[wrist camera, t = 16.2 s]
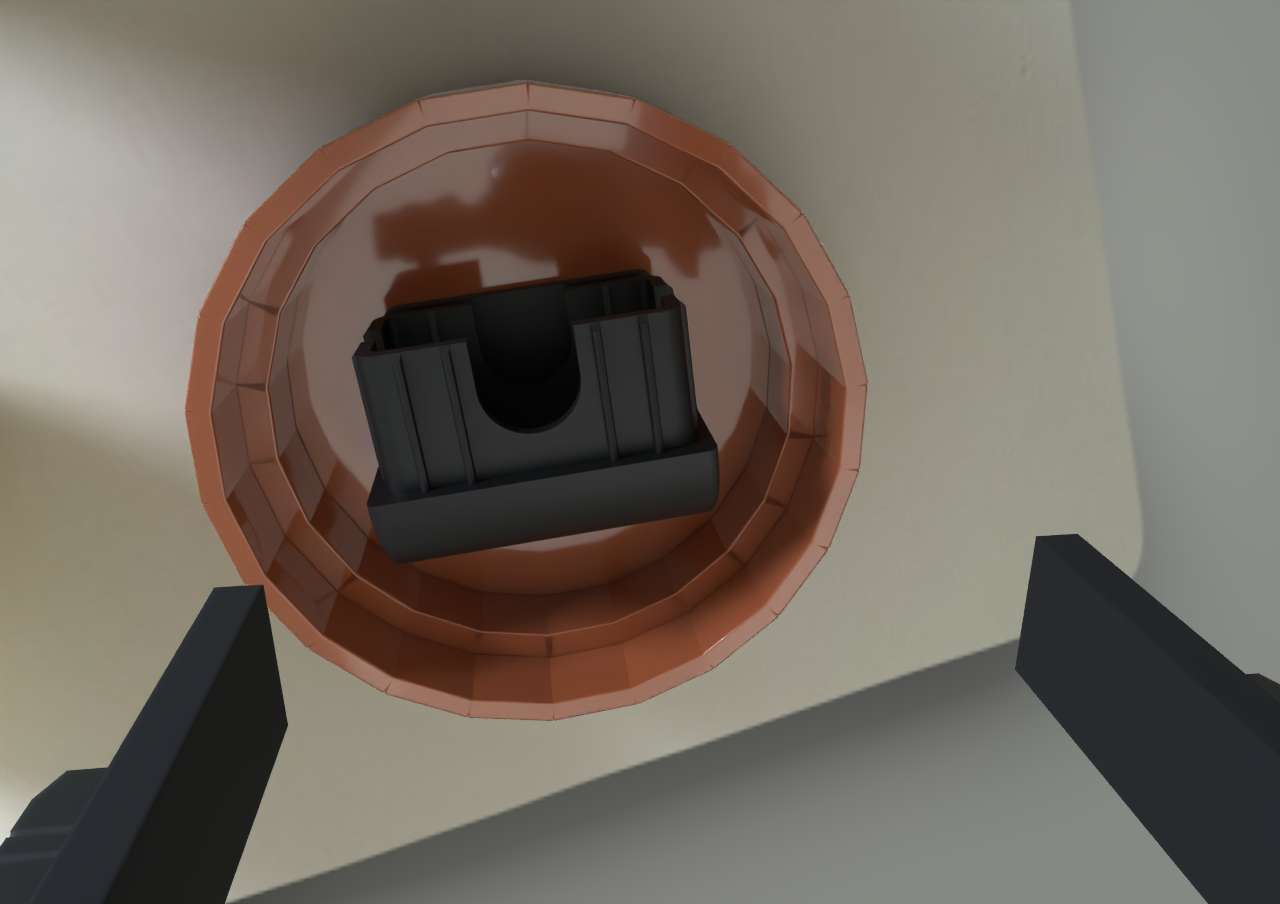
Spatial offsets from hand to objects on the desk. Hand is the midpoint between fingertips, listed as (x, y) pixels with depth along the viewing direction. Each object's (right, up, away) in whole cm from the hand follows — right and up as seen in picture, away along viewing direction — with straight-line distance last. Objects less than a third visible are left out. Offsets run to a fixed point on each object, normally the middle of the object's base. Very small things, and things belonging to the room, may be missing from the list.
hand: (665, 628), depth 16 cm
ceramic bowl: (-4, +5, +17) cm, 18 cm away
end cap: (-4, +5, +17) cm, 18 cm away
